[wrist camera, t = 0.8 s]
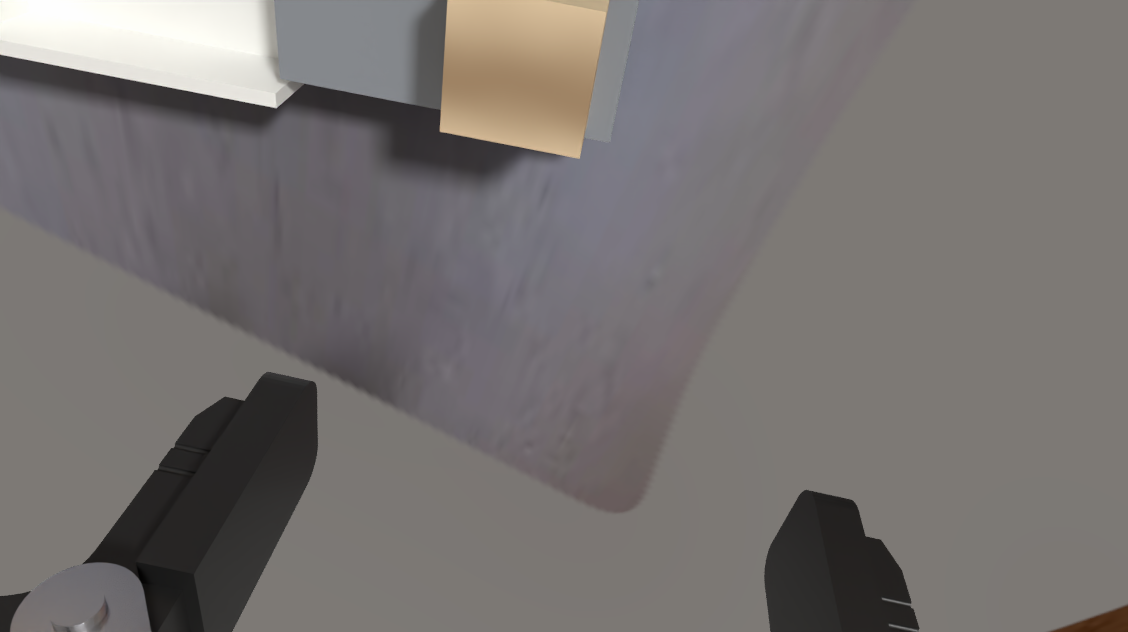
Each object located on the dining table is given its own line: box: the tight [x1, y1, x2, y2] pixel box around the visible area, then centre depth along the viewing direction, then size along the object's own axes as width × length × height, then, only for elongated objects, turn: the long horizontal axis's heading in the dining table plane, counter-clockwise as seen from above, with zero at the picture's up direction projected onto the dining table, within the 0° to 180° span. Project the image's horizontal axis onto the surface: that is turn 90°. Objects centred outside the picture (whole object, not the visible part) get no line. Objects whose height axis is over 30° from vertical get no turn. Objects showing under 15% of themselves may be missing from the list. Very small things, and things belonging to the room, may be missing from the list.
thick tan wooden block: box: [440, 0, 610, 158], centre depth 26 cm, size 5×5×3 cm
